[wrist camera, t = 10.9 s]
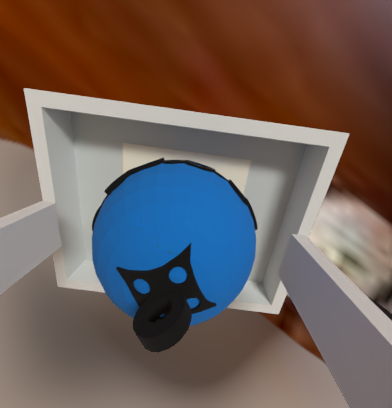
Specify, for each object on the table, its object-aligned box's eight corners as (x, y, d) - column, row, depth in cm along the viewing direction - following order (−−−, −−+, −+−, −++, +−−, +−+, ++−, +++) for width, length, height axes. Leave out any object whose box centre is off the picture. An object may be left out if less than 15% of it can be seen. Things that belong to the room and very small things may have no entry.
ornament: (217, 136, 13) (287, 111, 3) (249, 241, 15) (342, 405, 6) (105, 178, 14) (-108, 259, 4) (153, 271, 16) (91, 458, 6)
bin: (63, 98, 13) (23, 87, 10) (317, 133, 13) (349, 133, 10) (81, 262, 17) (57, 286, 15) (266, 285, 18) (278, 314, 15)
